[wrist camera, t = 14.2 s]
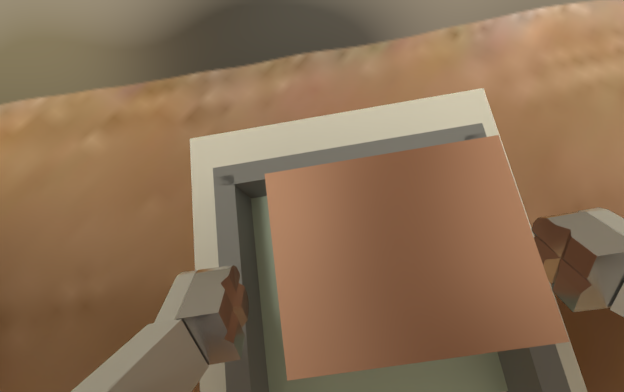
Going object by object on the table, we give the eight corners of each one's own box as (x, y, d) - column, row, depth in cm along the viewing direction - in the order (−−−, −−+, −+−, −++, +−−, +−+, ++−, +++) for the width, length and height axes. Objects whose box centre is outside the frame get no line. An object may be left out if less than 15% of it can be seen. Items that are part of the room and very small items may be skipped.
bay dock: (233, 443, 17) (168, 551, 11) (215, 162, 22) (162, 113, 15) (543, 403, 17) (682, 491, 10) (456, 121, 21) (512, 51, 15)
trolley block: (318, 311, 15) (287, 380, 5) (307, 233, 16) (264, 173, 6) (417, 297, 15) (569, 341, 5) (399, 219, 16) (498, 134, 6)
